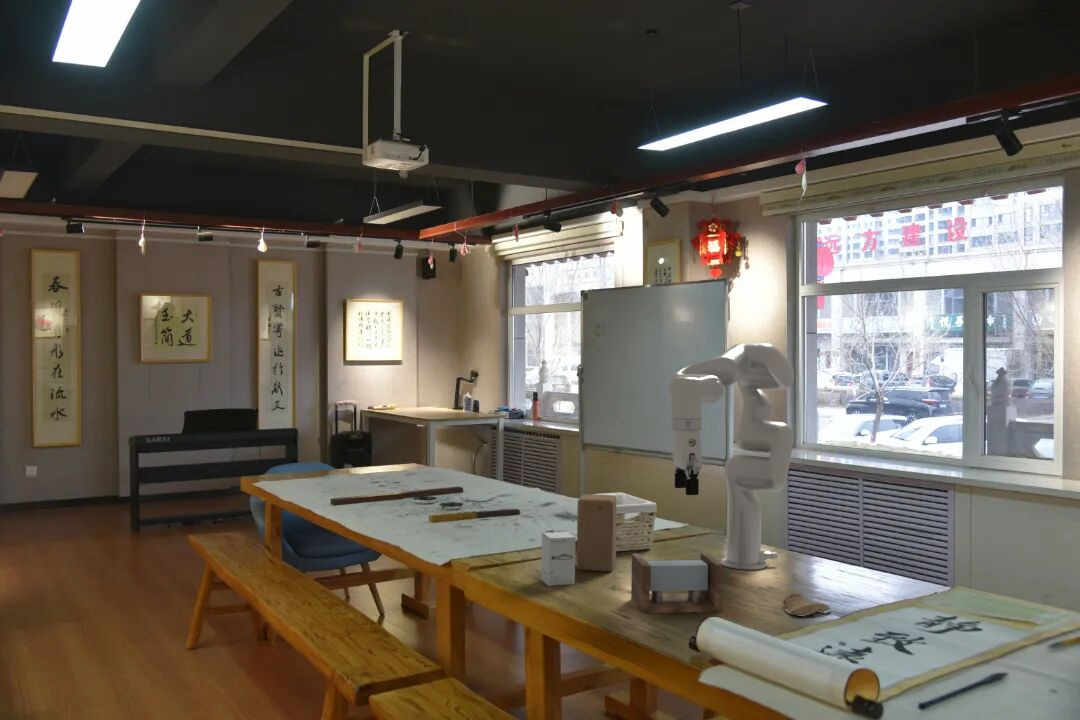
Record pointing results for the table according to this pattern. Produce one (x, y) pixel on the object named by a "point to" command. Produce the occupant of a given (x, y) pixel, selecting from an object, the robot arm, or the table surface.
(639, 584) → the peg frame
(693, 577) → the grey rectangular block
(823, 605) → the pottery shard
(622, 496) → the storage basket
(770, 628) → the table surface
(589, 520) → the wooden block
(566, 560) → the supplement box
